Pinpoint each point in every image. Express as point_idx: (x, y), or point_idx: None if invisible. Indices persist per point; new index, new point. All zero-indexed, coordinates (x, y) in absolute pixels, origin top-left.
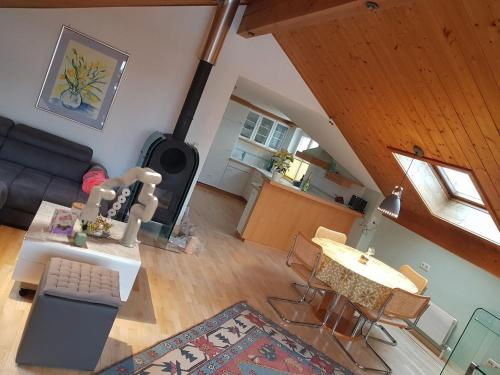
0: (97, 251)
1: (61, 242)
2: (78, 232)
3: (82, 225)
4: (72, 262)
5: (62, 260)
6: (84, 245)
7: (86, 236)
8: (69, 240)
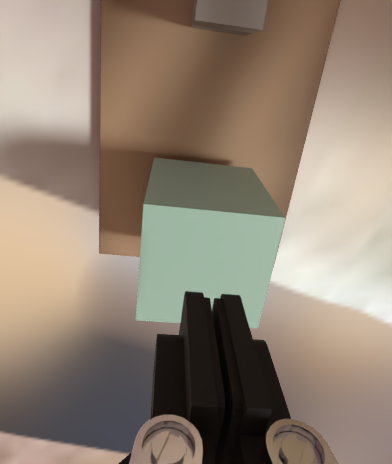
0: (355, 281)
1: (14, 151)
2: (159, 206)
3: (153, 389)
4: (73, 458)
5: (6, 448)
6: None
7: (252, 319)
8: (111, 97)
